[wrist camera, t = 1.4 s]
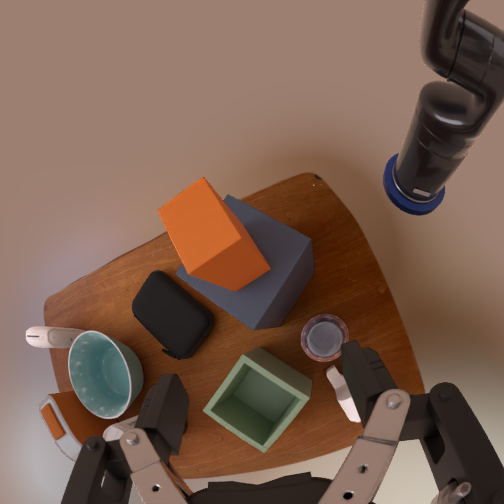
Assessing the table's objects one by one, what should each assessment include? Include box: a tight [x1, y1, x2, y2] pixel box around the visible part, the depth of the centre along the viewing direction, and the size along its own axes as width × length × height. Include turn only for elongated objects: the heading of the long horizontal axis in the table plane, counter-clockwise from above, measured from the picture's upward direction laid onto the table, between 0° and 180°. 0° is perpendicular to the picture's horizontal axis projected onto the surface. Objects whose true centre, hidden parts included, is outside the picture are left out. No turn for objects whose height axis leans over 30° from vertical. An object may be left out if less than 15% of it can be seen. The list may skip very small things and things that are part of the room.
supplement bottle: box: [301, 313, 349, 362], centre depth 34 cm, size 6×6×11 cm
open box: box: [203, 347, 313, 453], centre depth 34 cm, size 10×10×10 cm
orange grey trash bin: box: [39, 391, 118, 462], centre depth 37 cm, size 15×8×14 cm, turn 40°
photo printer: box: [26, 326, 85, 348], centre depth 44 cm, size 10×4×12 cm, turn 97°
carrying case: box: [132, 270, 214, 360], centre depth 44 cm, size 11×3×15 cm
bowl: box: [68, 331, 144, 419], centre depth 41 cm, size 16×16×8 cm
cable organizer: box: [326, 365, 361, 422], centre depth 31 cm, size 5×10×10 cm, turn 31°
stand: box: [176, 195, 315, 330], centre depth 35 cm, size 10×10×17 cm
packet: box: [158, 177, 271, 292], centre depth 22 cm, size 4×5×10 cm
